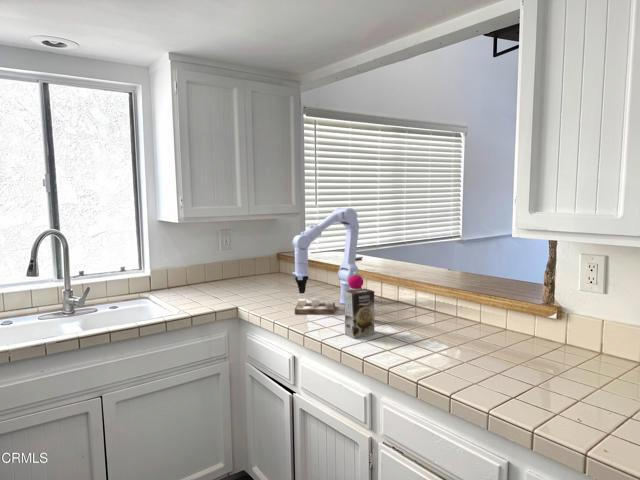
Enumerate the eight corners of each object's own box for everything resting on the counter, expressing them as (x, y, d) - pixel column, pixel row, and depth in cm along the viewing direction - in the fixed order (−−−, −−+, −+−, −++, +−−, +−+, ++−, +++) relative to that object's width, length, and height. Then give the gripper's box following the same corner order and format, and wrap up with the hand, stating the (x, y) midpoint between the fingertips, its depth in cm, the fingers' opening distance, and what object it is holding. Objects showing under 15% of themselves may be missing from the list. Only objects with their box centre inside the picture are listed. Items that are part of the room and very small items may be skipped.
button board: (334, 306, 201) (334, 301, 201) (334, 314, 189) (334, 308, 189) (297, 307, 202) (297, 301, 202) (294, 314, 190) (294, 308, 190)
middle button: (319, 305, 198) (319, 298, 198) (319, 307, 195) (318, 300, 195) (312, 305, 198) (312, 298, 198) (311, 307, 195) (311, 300, 195)
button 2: (333, 308, 198) (332, 301, 198) (332, 310, 195) (332, 303, 194) (325, 308, 198) (325, 301, 198) (325, 310, 195) (325, 303, 195)
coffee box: (353, 338, 157) (353, 293, 155) (344, 333, 163) (343, 290, 161) (375, 334, 161) (375, 290, 159) (365, 329, 167) (365, 287, 165)
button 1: (306, 305, 199) (305, 298, 198) (305, 307, 195) (305, 300, 195) (298, 305, 199) (298, 298, 198) (298, 307, 196) (297, 300, 195)
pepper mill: (367, 319, 181) (367, 270, 178) (361, 324, 174) (361, 273, 172) (350, 317, 184) (350, 269, 181) (344, 322, 177) (343, 272, 175)
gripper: (294, 260, 202) (295, 289, 204) (290, 265, 188) (291, 296, 189) (309, 260, 202) (310, 289, 203) (307, 265, 187) (307, 296, 189)
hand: (302, 293), depth 196 cm, fingers closed
